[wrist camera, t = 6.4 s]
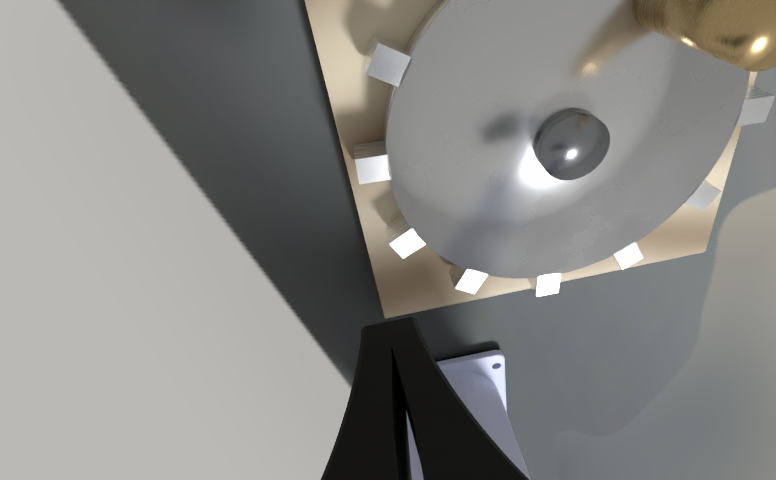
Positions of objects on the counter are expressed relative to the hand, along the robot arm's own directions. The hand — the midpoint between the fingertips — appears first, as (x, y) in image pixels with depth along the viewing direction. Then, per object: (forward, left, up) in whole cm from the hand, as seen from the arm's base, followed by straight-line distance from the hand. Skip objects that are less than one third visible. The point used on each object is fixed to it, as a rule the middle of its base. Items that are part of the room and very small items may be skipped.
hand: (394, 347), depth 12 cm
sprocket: (+1, -7, -8) cm, 11 cm away
